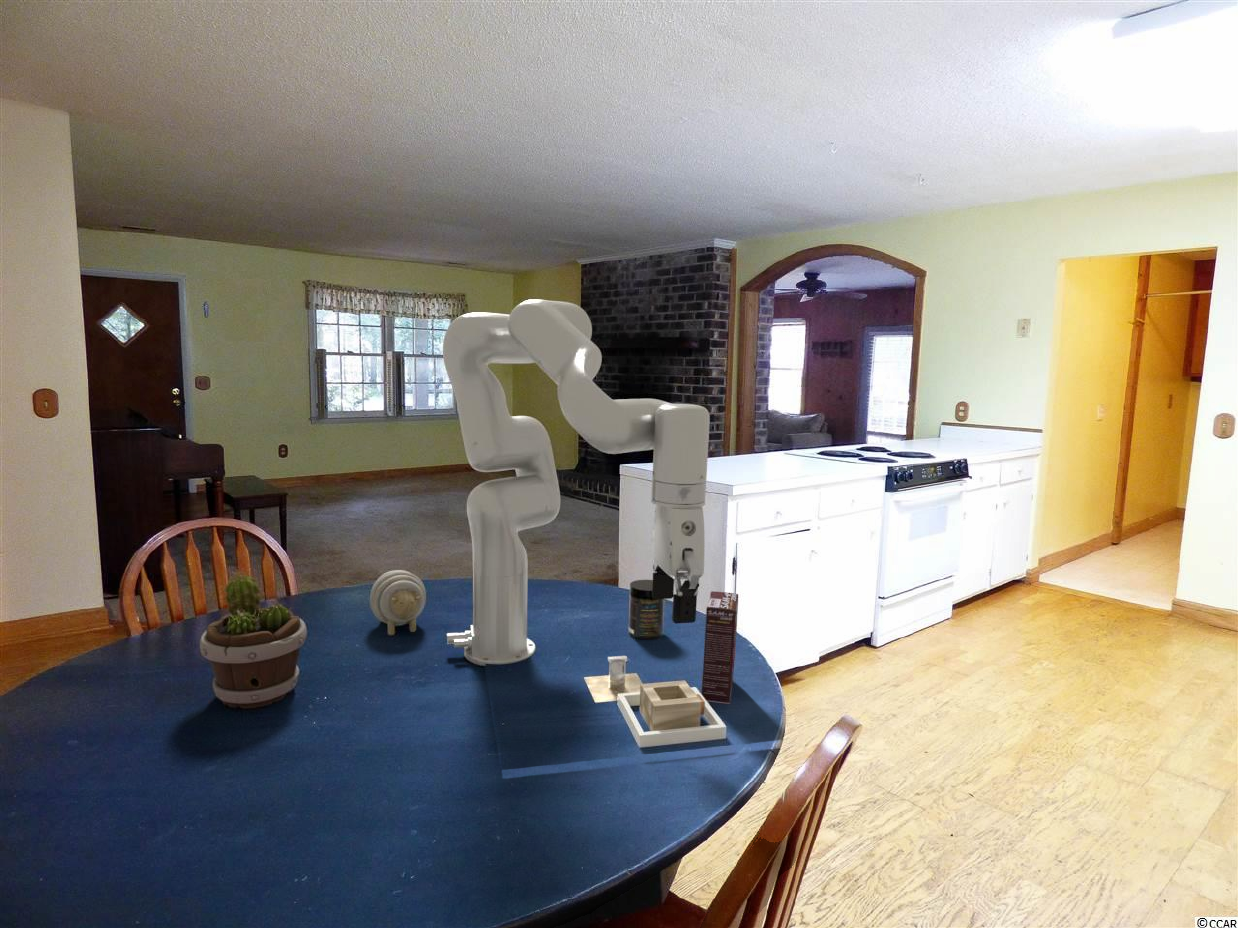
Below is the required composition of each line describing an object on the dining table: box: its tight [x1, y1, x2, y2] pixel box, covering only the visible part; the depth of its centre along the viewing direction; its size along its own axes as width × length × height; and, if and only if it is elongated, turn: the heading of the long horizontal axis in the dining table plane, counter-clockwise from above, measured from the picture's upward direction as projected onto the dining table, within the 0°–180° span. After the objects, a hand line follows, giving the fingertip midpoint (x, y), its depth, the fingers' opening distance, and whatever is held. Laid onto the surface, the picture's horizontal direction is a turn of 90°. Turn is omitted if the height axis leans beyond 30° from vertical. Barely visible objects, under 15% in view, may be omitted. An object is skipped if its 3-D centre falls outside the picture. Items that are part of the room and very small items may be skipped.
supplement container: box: [628, 579, 665, 641], centre depth 141 cm, size 7×7×10 cm
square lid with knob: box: [583, 655, 644, 704], centre depth 118 cm, size 9×9×6 cm
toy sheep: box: [369, 569, 427, 636], centre depth 143 cm, size 11×17×11 cm, turn 32°
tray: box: [616, 686, 727, 749], centre depth 108 cm, size 13×13×2 cm
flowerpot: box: [199, 565, 308, 709], centre depth 112 cm, size 14×15×20 cm
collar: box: [639, 679, 705, 732], centre depth 108 cm, size 7×8×4 cm
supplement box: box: [700, 590, 739, 705], centre depth 117 cm, size 9×5×16 cm, turn 168°
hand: (672, 609), depth 105 cm, fingers open, 9 cm apart
